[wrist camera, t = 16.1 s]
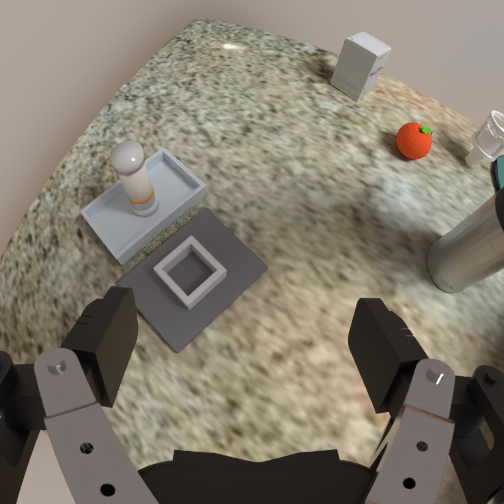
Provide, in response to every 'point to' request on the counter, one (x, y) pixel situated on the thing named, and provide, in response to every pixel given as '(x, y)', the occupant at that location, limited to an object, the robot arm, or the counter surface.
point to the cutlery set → (499, 171)
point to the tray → (146, 229)
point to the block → (192, 278)
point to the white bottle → (134, 177)
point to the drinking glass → (486, 141)
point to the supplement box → (359, 65)
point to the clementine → (414, 140)
